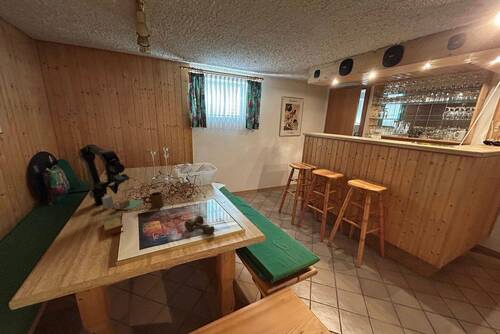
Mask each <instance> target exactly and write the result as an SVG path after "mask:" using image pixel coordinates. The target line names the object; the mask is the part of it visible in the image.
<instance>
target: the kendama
mask: <svg viewBox="0 0 500 334" xmlns="http://www.w3.org/2000/svg"><path fill="white" fill-rule="evenodd" d="M196 226H197V227H198V228H199V229H201V231H202V233H206V235H207V236H208V237H211V236H212V235H213V234H214V233H215V230H216V229H215V226H213V225H212V226H210V225H209V224H204V218H203V216H202V215H197V216H196V218H195V219H194V220H193V219H192V220H191V219H189V218H187V219H186V221H185V222H184V227H185V230H186V231H188V232H192V231H193V229H194V228H195V227H196Z"/></svg>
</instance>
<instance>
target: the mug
mask: <svg viewBox="0 0 500 334" xmlns="http://www.w3.org/2000/svg"><path fill="white" fill-rule="evenodd" d="M147 199H149V200H147ZM163 199H164V198H163V194H162V192H160V191H156V192H151V193H150V194H149V195H146V196H144V197H143V198H142V201H144V204H150V207H151V208H152V209H154V208H157V209H161V208H163V206H164V200H163ZM160 207H161V208H160Z"/></svg>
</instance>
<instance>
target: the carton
mask: <svg viewBox="0 0 500 334" xmlns="http://www.w3.org/2000/svg"><path fill="white" fill-rule="evenodd" d="M102 222H103V223H102V224H103V227H104V233H105V237H109V236H113V235H115V234H119V233H121V232H120V231H121V228H122V227H123V228H124V224H123V223H122V219H121V216H120V214H119V213H118V214H114V215H110V216H107V217H104V218H102Z"/></svg>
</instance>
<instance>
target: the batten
mask: <svg viewBox="0 0 500 334" xmlns="http://www.w3.org/2000/svg"><path fill="white" fill-rule="evenodd" d="M112 209H115V206H114V207H112ZM115 210H116V209H115ZM119 210H121V211H129V209H127V208H121V209H119Z"/></svg>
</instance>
